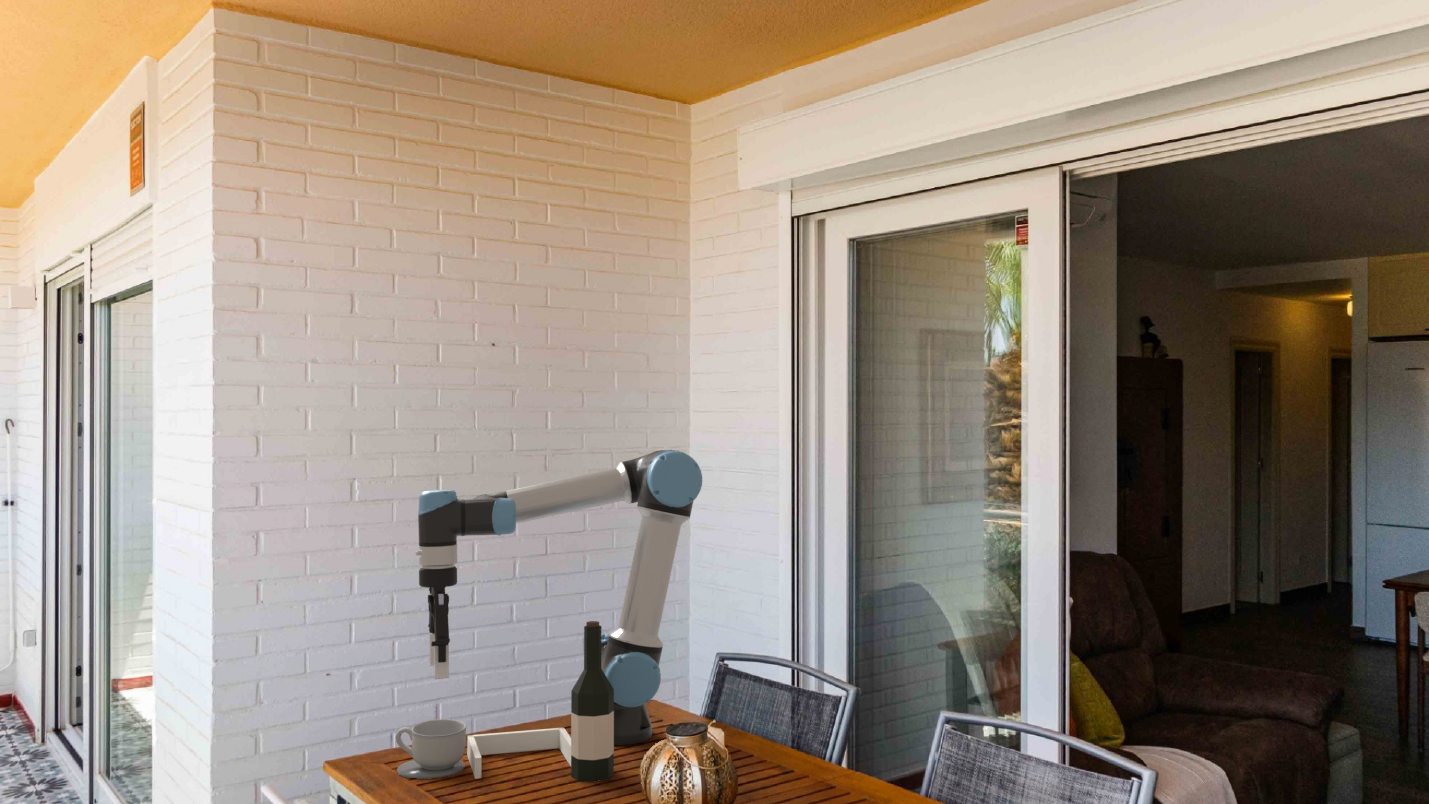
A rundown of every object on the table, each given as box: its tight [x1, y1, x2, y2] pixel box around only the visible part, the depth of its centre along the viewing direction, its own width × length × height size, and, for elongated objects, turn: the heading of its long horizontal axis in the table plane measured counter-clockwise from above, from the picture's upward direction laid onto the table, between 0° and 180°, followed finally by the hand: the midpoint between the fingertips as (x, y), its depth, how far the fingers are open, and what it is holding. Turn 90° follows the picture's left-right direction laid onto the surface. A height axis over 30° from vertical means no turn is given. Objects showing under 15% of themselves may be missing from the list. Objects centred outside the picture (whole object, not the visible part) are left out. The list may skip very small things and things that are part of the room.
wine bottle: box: [570, 620, 615, 783], centre depth 214 cm, size 8×8×30 cm
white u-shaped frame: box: [466, 727, 571, 780], centre depth 222 cm, size 20×17×4 cm
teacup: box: [395, 718, 467, 770], centre depth 218 cm, size 14×11×8 cm
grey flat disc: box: [396, 759, 465, 780], centre depth 217 cm, size 13×13×1 cm
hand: (438, 671), depth 219 cm, fingers open, 13 cm apart
